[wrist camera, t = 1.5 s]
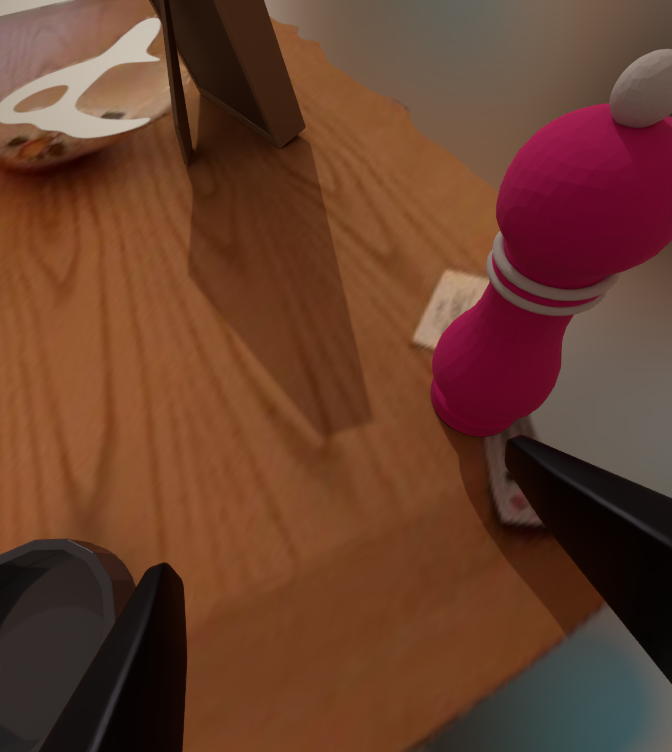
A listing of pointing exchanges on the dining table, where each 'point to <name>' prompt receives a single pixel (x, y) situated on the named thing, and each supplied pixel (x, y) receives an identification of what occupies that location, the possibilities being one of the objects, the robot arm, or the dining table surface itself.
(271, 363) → the dining table surface
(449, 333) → the pepper mill
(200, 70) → the photo frame
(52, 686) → the tray
